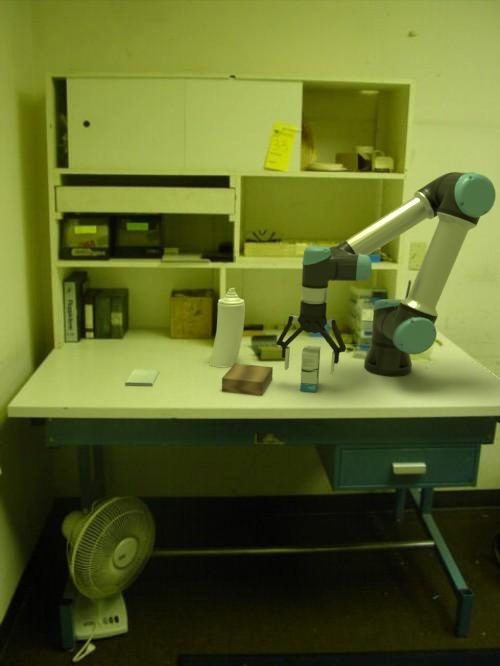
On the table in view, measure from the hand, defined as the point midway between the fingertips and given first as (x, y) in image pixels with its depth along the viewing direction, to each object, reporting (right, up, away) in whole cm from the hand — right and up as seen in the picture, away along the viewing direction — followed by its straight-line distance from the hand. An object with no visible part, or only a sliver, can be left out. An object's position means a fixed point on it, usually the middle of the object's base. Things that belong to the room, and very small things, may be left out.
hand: (309, 371), depth 182 cm
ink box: (0, -5, +1) cm, 5 cm away
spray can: (-25, +1, +22) cm, 34 cm away
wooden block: (-18, -4, +2) cm, 19 cm away
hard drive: (-50, -3, +5) cm, 51 cm away
